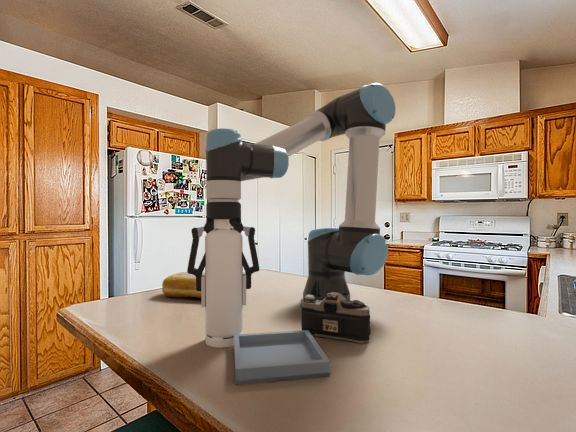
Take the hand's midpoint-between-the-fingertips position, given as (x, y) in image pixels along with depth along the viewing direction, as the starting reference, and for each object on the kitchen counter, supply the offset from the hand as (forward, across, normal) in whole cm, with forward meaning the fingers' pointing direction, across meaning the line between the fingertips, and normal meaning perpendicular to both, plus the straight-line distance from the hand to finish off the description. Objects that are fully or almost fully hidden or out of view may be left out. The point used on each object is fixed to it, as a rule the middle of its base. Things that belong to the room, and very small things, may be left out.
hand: (224, 304), depth 74 cm
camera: (+8, -26, 0) cm, 27 cm away
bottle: (+8, 0, 0) cm, 8 cm away
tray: (+8, -10, +12) cm, 17 cm away
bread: (+8, +8, -43) cm, 44 cm away
